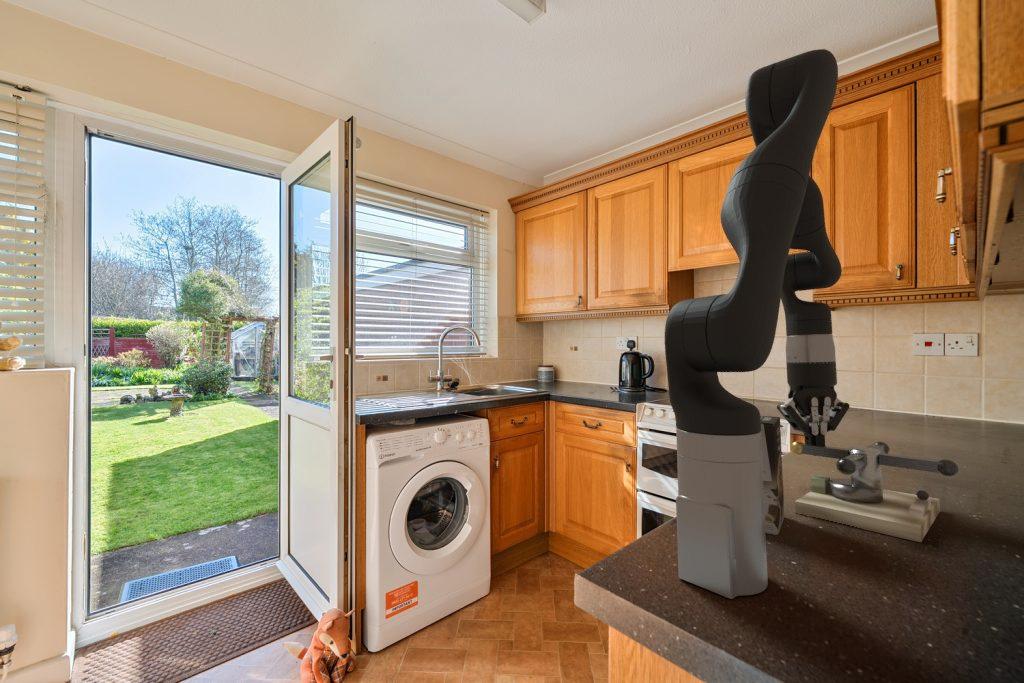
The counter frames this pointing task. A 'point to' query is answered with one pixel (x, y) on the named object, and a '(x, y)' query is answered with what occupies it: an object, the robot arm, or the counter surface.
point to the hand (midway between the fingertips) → (815, 454)
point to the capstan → (869, 468)
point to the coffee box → (772, 474)
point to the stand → (873, 510)
